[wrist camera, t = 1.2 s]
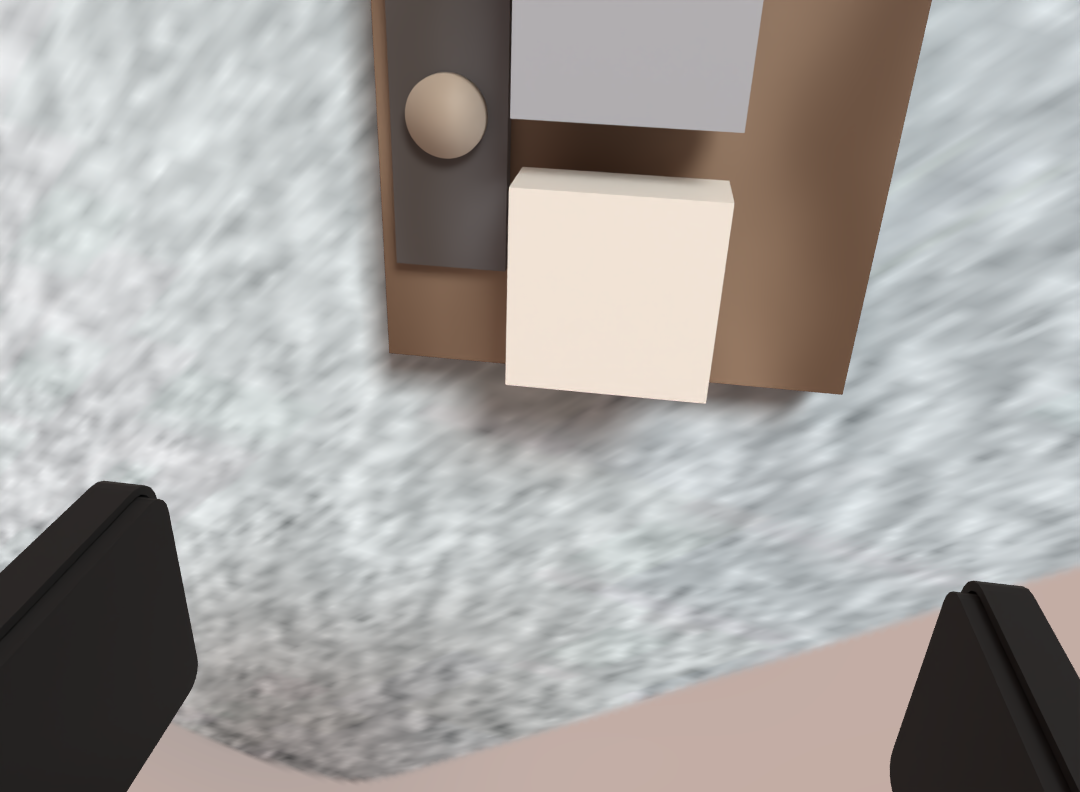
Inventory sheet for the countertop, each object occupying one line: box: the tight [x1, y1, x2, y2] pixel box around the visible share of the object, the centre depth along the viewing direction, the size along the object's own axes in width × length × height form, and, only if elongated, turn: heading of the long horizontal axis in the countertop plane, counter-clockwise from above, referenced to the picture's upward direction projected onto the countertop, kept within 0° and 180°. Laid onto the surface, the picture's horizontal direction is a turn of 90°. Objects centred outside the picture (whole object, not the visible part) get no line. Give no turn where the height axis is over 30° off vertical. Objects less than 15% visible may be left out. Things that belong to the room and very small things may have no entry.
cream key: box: [505, 167, 734, 404], centre depth 21 cm, size 5×5×2 cm
